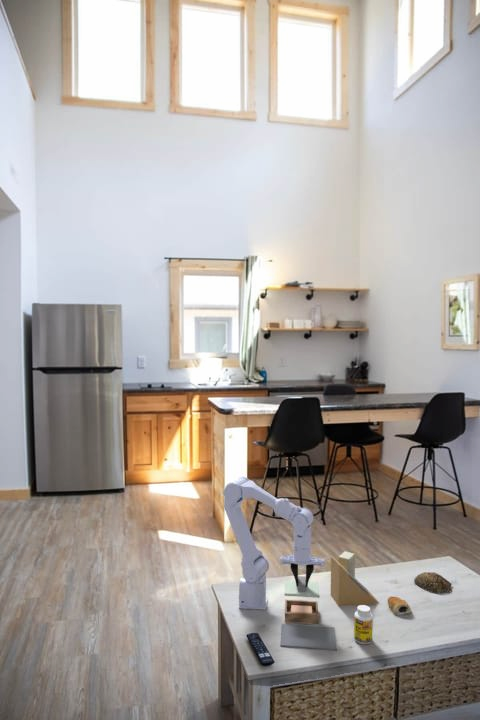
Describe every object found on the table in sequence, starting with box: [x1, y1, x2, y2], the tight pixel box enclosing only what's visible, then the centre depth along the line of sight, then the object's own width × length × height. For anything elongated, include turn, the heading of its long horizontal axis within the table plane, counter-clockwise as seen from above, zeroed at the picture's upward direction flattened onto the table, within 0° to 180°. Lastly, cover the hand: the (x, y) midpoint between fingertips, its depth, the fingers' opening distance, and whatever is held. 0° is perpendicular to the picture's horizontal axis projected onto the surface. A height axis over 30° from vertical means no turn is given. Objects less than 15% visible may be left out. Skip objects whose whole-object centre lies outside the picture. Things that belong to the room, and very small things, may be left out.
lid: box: [284, 575, 320, 599], centre depth 179 cm, size 11×9×4 cm
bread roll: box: [413, 571, 453, 594], centre depth 202 cm, size 13×12×5 cm
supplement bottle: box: [353, 604, 374, 645], centre depth 165 cm, size 6×6×10 cm
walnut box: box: [284, 599, 319, 625], centre depth 180 cm, size 11×9×3 cm
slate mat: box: [279, 623, 338, 651], centre depth 167 cm, size 17×12×1 cm
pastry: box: [387, 596, 412, 616], centre depth 185 cm, size 9×7×4 cm
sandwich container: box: [330, 555, 379, 607], centre depth 191 cm, size 9×15×15 cm, turn 100°
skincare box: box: [337, 550, 356, 578], centre depth 200 cm, size 6×4×12 cm
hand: (301, 585), depth 179 cm, fingers closed on lid, 2 cm apart
